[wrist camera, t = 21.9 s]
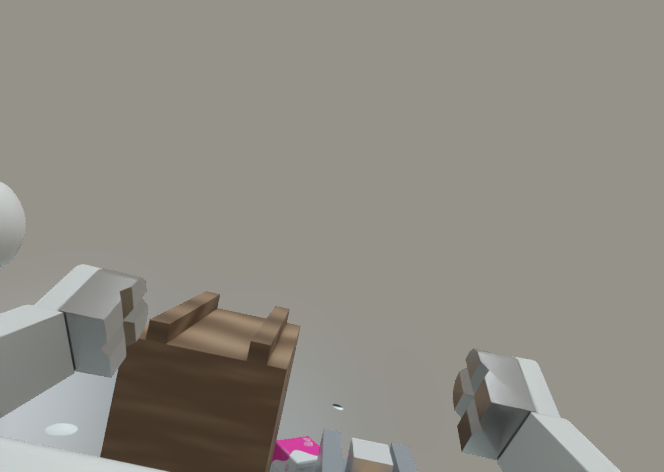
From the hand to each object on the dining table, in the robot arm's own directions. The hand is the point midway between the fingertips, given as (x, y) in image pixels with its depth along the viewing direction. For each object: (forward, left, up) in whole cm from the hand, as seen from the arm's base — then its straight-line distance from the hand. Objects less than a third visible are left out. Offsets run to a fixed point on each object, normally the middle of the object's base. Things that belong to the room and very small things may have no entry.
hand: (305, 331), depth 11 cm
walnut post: (-25, +12, -38) cm, 47 cm away
